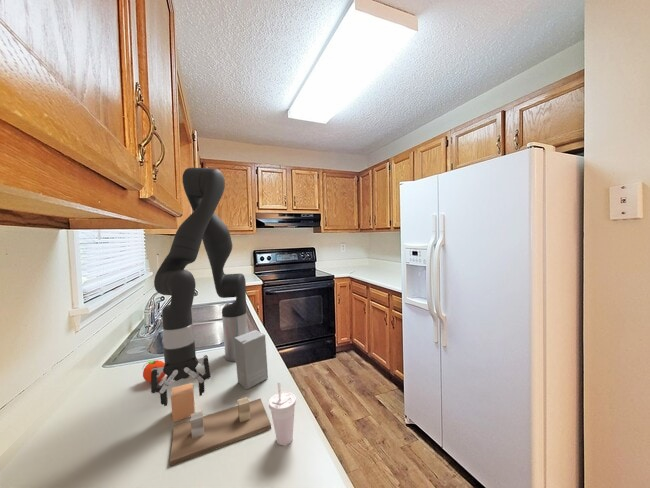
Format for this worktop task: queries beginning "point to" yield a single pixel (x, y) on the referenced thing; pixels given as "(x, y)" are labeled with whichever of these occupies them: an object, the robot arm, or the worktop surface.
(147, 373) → the tomato
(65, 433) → the worktop surface
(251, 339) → the skincare box
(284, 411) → the smoothie
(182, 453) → the post board
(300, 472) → the worktop surface
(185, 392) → the light orange block
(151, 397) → the worktop surface
